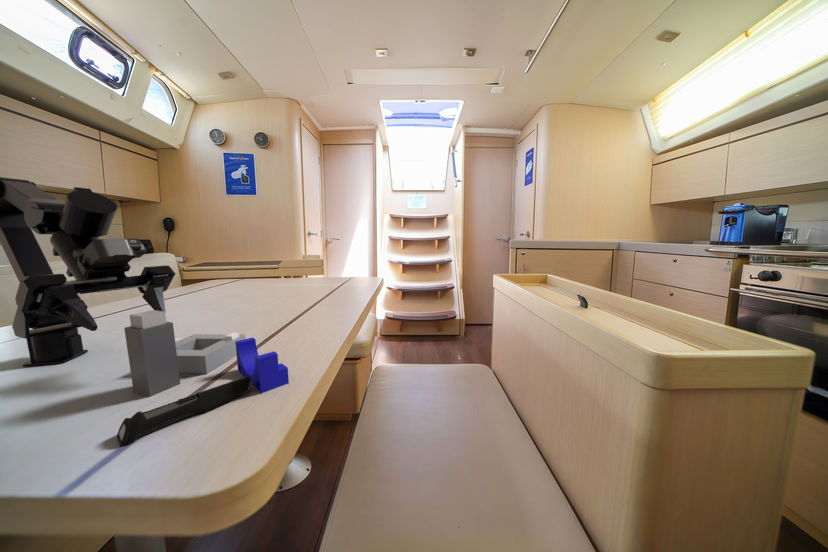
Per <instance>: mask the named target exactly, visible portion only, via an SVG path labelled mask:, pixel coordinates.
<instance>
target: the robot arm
mask: <svg viewBox="0 0 828 552" xmlns="http://www.w3.org/2000/svg"><path fill="white" fill-rule="evenodd" d="M117 210H118V205H117V203H116V202H115V201H114V200H111V199H109V198H108V197H106V196H104V195H102V194H99V193H96V192H93V190H92V189H91V188H86V187H80V186H79V187H77V186H74V187H73V190H72V191H71V192H69V193H68V194H67V195H66V198H65V200H59V199H57V198H56V197H54V196H53V195H51V194H49V193H47V192H46V191H44V190H43V189H41V188H39V187H38V186H37V185H36V183H35V182H34V181H30V180H28V179H20V178H11V177H3V176H0V245H1V248H2V249H3V251H4V253H5V255H6V258H7V259H8V261H9V263H10V267H11V268H12V270H13V272H14V274H15V276H16V279H17V280H18V282H19V284H18V287H17V290H16V296H15V305H17V309H16V312H15V315H14V318H13V322H12V327H11V328H12V330H13V333H14V336H15V337H18V338H21V339H26V344H27V348H28V354H29V360H30V361H27V362H24V363H23V364H22V367H24V368H25V367H34V366H44V365H45V366H46V365H55V364H62V363H63V364H64V363H66V362H68V361H71V360H72V359H75V358H78V357H79V356H82V355H84V354H86V353H88V352H89V351H88V349H84V346H83V345H84V344H83V339H82V334H80V333H79V330H78V329H79V328H81V327H82V328H84V329H86V330H89V331H91V332H95V331H97V330H98V325H97V323H96V320H95V318H94V317H93V316H92V314H91V313H90V312H89V310H88V305H87V304H86V303H85V301H84V300H83V299H82V298H81V296H80V295H83V294H85V295H86V294H92V293H104V292H111V291H118V290H119V291H120V290H128V289H129V290H130V289H135V288H137V289H138V291H139V292H140V293H141V294H142V298H143V300H144V301H145V302H146V303H147V304H148V305H149V306H150V308H152V310H156V311H164V312H165V314H166V305H165V299H164V292H166V291H167V290H168V288H169V286H171V283H172V281H173V279H174V278H175V276H176V272H175V271H174V269H173V268H172V267H171V266H170V265H167V264H166V265H164V264H163V265H155V266H154V265H153V266H144V267H143V269H142V271H141V272H140V275H130V276H127V275H126V272H129V271H130V269H131V265H130V264H129V262H131V261H132V260H133V259H138V258H141V257H142V256H144V255H145V254H146V247H145V245H144V243H143V242H142V241H141V240H140V239H139V238H138V237H137V238H134V237H133V238H108V239H107V238H105V239H104V238H100V237H104V236H107V235H108V234H109V231H110V228H111V226H112V222H113V221H114V219H115V215H116V212H117ZM34 233H35V234H37V235H51V236H50V239H49V242H50V244H51V245H52V247H53V248H52V255H53V256H54V257H60V258H61V259H62V261H63V263H64V264H65V266H66V267H67V268H66V272H65V273H66V275H67V276H68V278H71V277H73V278H74V280H67V277H66V275H65V274H64V273H54V272H53V270H52V267H51V266H50V264H49V262H48V260H47V258H46V255H45V254H44V251H43V250H42V248H41V245H40V243H39V242H38V240H37V238H36V236H35V234H34ZM79 294H80V295H79Z"/></svg>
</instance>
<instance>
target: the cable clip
mask: <svg viewBox="0 0 828 552" xmlns="http://www.w3.org/2000/svg"><path fill="white" fill-rule="evenodd" d="M235 343H236V354H237V355H236V363H237V371H238V372H239V374H241V375H242V377H246V376H250V385H252V386H253V388H255V390H256V391H258V392H259V393H260V394H263V393H267V392H270V391H272V390H275V389H278V388H280V387H283V386H285V385H289V383H290V382H289V381H290V380H289V368H288V366H286V365H285V364H283V363H282V362H281V363H279V354H278V352H276V351H275V350H274V351H270V352H266V353H263V354H259V352H258V347H257V341H256V339H255V337H249V338H246V339H244V340H240V341H235Z"/></svg>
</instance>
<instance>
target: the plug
mask: <svg viewBox="0 0 828 552" xmlns="http://www.w3.org/2000/svg"><path fill="white" fill-rule="evenodd" d="M129 321H130V325H129V326H126V327H124V336H125V342H126V348H127V349H126V350H127V356H128V363H129V364H128V365H129V371H130V376H131V382H132V383H131V384H132V389H133V391H132V392H133V393H136V394H139V395H143V396H146V397H153V396H155V395H157V394H159V393H162V392H165V391H166V390H168V389H171V388H173V387H176V386H179V385H181V379H180V374H179V369H178V361H177V352H176V344H175V342H176V338H175V331H174V329H175V328H174V322H171V321H167V316H166V313H165V312H164V311H156V310H154V309H152V310H146V311H142V312H138V313H132V314H129Z"/></svg>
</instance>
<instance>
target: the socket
mask: <svg viewBox="0 0 828 552" xmlns="http://www.w3.org/2000/svg"><path fill="white" fill-rule="evenodd" d="M244 339H247V338H246V334H240V332H231V333H228V334H226V333H225V334H223V333H222V334H220V333H219V334H217V333H216V334H213V333H212V334H211V333H210V334H207V333H206V334H205V333H203V334H202V333H201V334H199V333H198V334H197V333H195V334H191V335H188V336H187V337H184V338H182V339H180V340H177V341H175V344H176V352H177V361H178V369H179V375H182V374H183V375H184V374H185V375H187V374H189V375H191V374H193V375H194V374H195V375H196V374H197V375H201V374H202V375H204V374H205V375H208V374H210V372H212V371H214V370H216V369H218V367H221V366H222V365H224V364H226V363H227V362H228V361H230V360H232V359H233V358H235V357H237V354H236V343H235V341H240V340H244Z"/></svg>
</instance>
